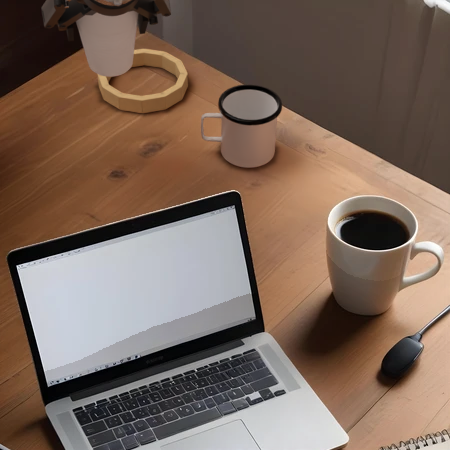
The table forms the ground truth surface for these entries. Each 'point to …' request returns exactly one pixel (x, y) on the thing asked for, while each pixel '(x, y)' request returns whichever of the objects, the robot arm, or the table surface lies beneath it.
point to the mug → (247, 124)
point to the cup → (109, 42)
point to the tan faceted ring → (154, 100)
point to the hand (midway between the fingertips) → (105, 27)
